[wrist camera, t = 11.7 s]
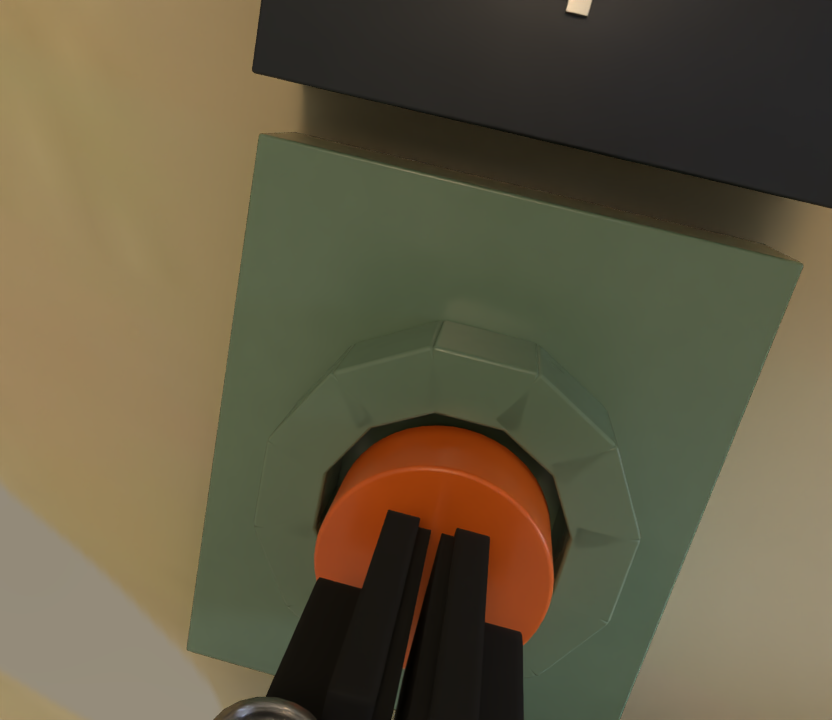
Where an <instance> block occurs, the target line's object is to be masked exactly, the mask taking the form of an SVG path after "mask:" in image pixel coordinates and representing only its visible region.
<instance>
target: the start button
mask: <svg viewBox="0 0 832 720" xmlns="http://www.w3.org/2000/svg"><path fill="white" fill-rule="evenodd" d="M388 510H392V511H396V512H400V513H404V514H408V515H411V516H415V517H419V518H420V523H419V527H421V528H425V529H429V530H431V535H430V539H429V544H428V549H427V554H426V559H425V563H424V568H423V573H422V578H421V582H420V587H419V592H418V597H417V602H416V606H415V611H414V616H413V621H412V625H411V630H410V635H409V640H408V645H407V649H406V654H405V659H404V664H403V669H405V667H406V663H407V659H408V656H409V652H410V648H411V645H412V641H413V637H414V633H415V630H416V626H417V622H418V619H419V615H420V611H421V607H422V604H423V600H424V596H425V592H426V589H427V585H428V581H429V578H430V574H431V570H432V566H433V563H434V559H435V555H436V552H437V548H438V544H439V540H440V537H441V534H442V533H444V534H447V535H451V536H454V534H455V531H456V528H460V529H464V530H468V531H472V532H475V533H479V534H483V535H487V536H489V537H490V548H489V564H488V580H487V596H486V612H485V622H486V623H490V624H494V625H497V626H501V627H505V628H508V629H512V630H516V631H519V632H521V634H522V639H523V645H524V644H525V643H527V642H528V640H529V639H530V638H531V637H532V636H533V634H534V633H535V632H536V631H537V629H538V628H539V626H540V624H541V623H542V621H543V620H544V618H545V615H546V613H547V611H548V608H549V606H550V602H551V598H552V594H553V586H554V569H553V555H552V541H551V528H550V515H549V510H548V506H547V502H546V499H545V496H544V494H543V491H542V489H541V487H540V485H539V483H538V482H537V480H536V478H535V477H534V475H533V474H532V472H531V471H530V470H529V468H528V467H527V466H526V465H525V464H524V463H523V462H522V461H521V460H520V459H519V458H518V457H517V456H516V455H515V454H514V453H512V452H511V451H510V450H509V449H507V448H506V447H504V446H503V445H501V444H500V443H498V442H496V441H495V440H493V439H491V438H489V437H486V436H484V435H482V434H480V433H477V432H474V431H471V430H468V429H463V428H458V427H453V426H440V425H434V426H420V427H415V428H409V429H406V430H402V431H399V432H396V433H394V434H391V435H389V436H387V437H385V438H383V439H381V440H380V441H378V442H376V443H375V444H373V445H372V446H371V447H369V448H368V449H367V450H366V451H365V452H363V453H362V454H361V455H360V456H359V458H358V459H357V460H356V461H355V462H354V463H353V465H352V466H351V468H350V469H349V471H348V472H347V474H346V476H345V478H344V480H343V482H342V484H341V486H340V488H339V490H338V492H337V494H336V496H335V498H334V500H333V502H332V504H331V506H330V508H329V510H328V512H327V514H326V516H325V518H324V520H323V523H322V525H321V527H320V529H319V532H318V536H317V539H316V544H315V552H314V570H315V576H316V581H317V579H318V578H319V577H321V578H325V579H328V580H332V581H336V582H339V583H343V584H347V585H350V586H354V587H358V588H362V586H363V583H364V580H365V577H366V574H367V571H368V568H369V565H370V562H371V559H372V556H373V553H374V550H375V547H376V544H377V541H378V538H379V535H380V532H381V529H382V526H383V523H384V520H385V517H386V514H387V512H388Z"/></svg>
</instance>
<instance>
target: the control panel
mask: <svg viewBox="0 0 832 720" xmlns="http://www.w3.org/2000/svg"><path fill="white" fill-rule="evenodd" d="M252 71H253V72H254V73H256V74H260V75H265V76H269V77H273V78H277V79H282V80H286V81H290V82H294V83H299V84H303V85H307V86H311V87H316V88H320V89H324V90H328V91H333V92H337V93H341V94H346V95H350V96H354V97H358V98H363V99H367V100H371V101H375V102H380V103H384V104H388V105H392V106H397V107H401V108H405V109H409V110H414V111H418V112H422V113H426V114H431V115H435V116H439V117H444V118H448V119H452V120H456V121H461V122H465V123H469V124H473V125H478V126H482V127H486V128H490V129H495V130H499V131H503V132H507V133H512V134H516V135H520V136H524V137H529V138H533V139H537V140H542V141H546V142H550V143H554V144H559V145H563V146H567V147H571V148H576V149H580V150H584V151H588V152H593V153H597V154H601V155H605V156H610V157H614V158H618V159H623V160H627V161H631V162H635V163H640V164H644V165H648V166H652V167H657V168H661V169H665V170H669V171H674V172H678V173H682V174H686V175H691V176H695V177H699V178H703V179H708V180H712V181H716V182H721V183H725V184H729V185H733V186H738V187H742V188H746V189H750V190H755V191H759V192H763V193H767V194H772V195H776V196H780V197H784V198H789V199H793V200H797V201H802V202H806V203H810V204H814V205H819V206H823V207H827V208H831V209H832V0H261V7H260V14H259V22H258V29H257V37H256V44H255V52H254V59H253V67H252Z"/></svg>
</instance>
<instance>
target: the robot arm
mask: <svg viewBox="0 0 832 720" xmlns="http://www.w3.org/2000/svg"><path fill="white" fill-rule="evenodd" d="M419 523H420V518H419V517H415V516H411V515H408V514H404V513H400V512H396V511H392V510H388V512H387V514H386V517H385V520H384V523H383V526H382V529H381V532H380V535H379V538H378V541H377V544H376V547H375V550H374V553H373V556H372V559H371V562H370V565H369V568H368V571H367V574H366V577H365V580H364V583H363V586H362V588H358V587H354V586H350V585H347V584H343V583H339V582H336V581H332V580H328V579H325V578H321V577H319V578H318V579H317V581H316V583H315V585H314V588H313V590H312V592H311V595H310V597H309V599H308V601H307V604H306V606H305V608H304V611H303V613H302V615H301V617H300V620H299V622H298V624H297V626H296V629H295V631H294V633H293V636H292V638H291V640H290V642H289V645H288V647H287V649H286V652H285V654H284V656H283V658H282V661H281V663H280V665H279V667H278V670H277V672H276V674H275V677H274V679H273V681H272V683H271V686H270V688H269V690H268V693H267V695H266V697H255V698H251V699H246V700H242V701H239V702H237V703H235V704H233V705H231V706H229V707H227V708H226V709H224V710H223V711H222V712H221V713H220V714H219V715H218V716H217V717H216V718H215V719H214V720H391V718H392V714H393V710H394V705H395V701H396V697H397V692H398V688H399V683H400V678H401V673H402V668H403V664H404V659H405V654H406V649H407V645H408V640H409V635H410V630H411V625H412V621H413V616H414V611H415V606H416V602H417V597H418V592H419V587H420V582H421V578H422V573H423V568H424V563H425V559H426V554H427V549H428V544H429V539H430V535H431V530H429V529H425V528H421V527H419ZM489 548H490V537H489V536H487V535H483V534H479V533H475V532H472V531H468V530H464V529H460V528H456V531H455V534H454V536H451V535H447V534H444V533H442V534H441V537H440V540H439V544H438V548H437V552H436V555H435V559H434V563H433V566H432V570H431V574H430V578H429V581H428V585H427V589H426V592H425V596H424V600H423V604H422V607H421V611H420V615H419V619H418V622H417V626H416V630H415V633H414V637H413V641H412V645H411V648H410V652H409V656H408V659H407V663H406V667H405V671H404V675H403V679H402V684H401V688H400V693H399V698H398V703H397V707H396V712H395V717H394V720H524V694H523V639H522V634H521V632H519V631H516V630H512V629H508V628H505V627H501V626H497V625H494V624H490V623H486V622H485V612H486V596H487V580H488V564H489Z"/></svg>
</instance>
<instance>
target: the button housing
mask: <svg viewBox="0 0 832 720" xmlns="http://www.w3.org/2000/svg"><path fill="white" fill-rule="evenodd" d="M802 269H803V264H802V263H801V262H799V261H797V260H795V259H793V258H791V257H789V256H787V255H785V254H783V253H781V252H779V251H777V250H775V249H773V248H771V247H769V246H767V245H765V244H762V243H758V242H753V241H749V240H745V239H741V238H737V237H733V236H728V235H724V234H720V233H716V232H712V231H707V230H703V229H699V228H695V227H691V226H686V225H682V224H678V223H674V222H670V221H666V220H661V219H657V218H653V217H649V216H645V215H640V214H636V213H632V212H628V211H624V210H619V209H615V208H611V207H607V206H603V205H599V204H594V203H590V202H586V201H582V200H578V199H573V198H569V197H565V196H561V195H557V194H552V193H548V192H544V191H540V190H536V189H532V188H527V187H523V186H519V185H515V184H511V183H506V182H502V181H498V180H494V179H490V178H485V177H481V176H477V175H473V174H469V173H465V172H460V171H456V170H452V169H448V168H444V167H439V166H435V165H431V164H427V163H423V162H418V161H414V160H410V159H406V158H402V157H398V156H393V155H389V154H385V153H381V152H377V151H372V150H368V149H364V148H360V147H356V146H351V145H347V144H343V143H339V142H335V141H331V140H326V139H322V138H318V137H314V136H310V135H305V134H301V133H297V132H287V133H262V134H260V135H259V139H258V146H257V153H256V160H255V167H254V174H253V181H252V188H251V195H250V202H249V209H248V217H247V224H246V231H245V238H244V245H243V252H242V259H241V266H240V273H239V280H238V288H237V295H236V302H235V309H234V316H233V323H232V330H231V337H230V344H229V351H228V359H227V366H226V373H225V380H224V387H223V394H222V401H221V408H220V415H219V422H218V430H217V437H216V444H215V451H214V458H213V465H212V472H211V479H210V486H209V493H208V500H207V508H206V515H205V522H204V529H203V536H202V543H201V550H200V557H199V564H198V571H197V579H196V586H195V593H194V600H193V607H192V614H191V621H190V628H189V635H188V642H187V650H188V651H190V652H194V653H197V654H201V655H204V656H208V657H211V658H215V659H219V660H222V661H226V662H229V663H233V664H236V665H240V666H243V667H247V668H250V669H254V670H257V671H261V672H264V673H268V674H271V675H275V674H276V672H277V670H278V667H279V665H280V663H281V661H282V658H283V656H284V654H285V652H286V649H287V647H288V645H289V642H290V640H291V638H292V636H293V633H294V631H295V629H296V626H297V624H298V622H299V620H300V617H301V615H302V613H303V611H304V608H305V606H306V604H307V601H308V599H309V597H310V595H311V592H312V590H313V588H314V585H315V583H316V576H315V570H314V552H315V544H316V539H317V536H318V532H319V529H320V527H321V525H322V523H323V520H324V518H325V516H326V514H327V512H328V510H329V508H330V506H331V504H332V502H333V500H334V498H335V496H336V494H337V492H338V490H339V488H340V486H341V484H342V482H343V480H344V478H345V476H346V474H347V472H348V471H349V469H350V468H351V466H352V465H353V463H354V462H355V461H356V460H357V459H358V458H359V456H360V455H361V454H362V453H363V452H365V451H366V450H367V449H368V448H369V447H371V446H372V445H373V444H375V443H376V442H378V441H380V440H381V439H383V438H385V437H387V436H389V435H391V434H394V433H396V432H399V431H402V430H406V429H409V428H415V427H420V426H434V425H440V426H453V427H458V428H463V429H468V430H471V431H474V432H477V433H480V434H482V435H484V436H486V437H489V438H491V439H493V440H495V441H496V442H498V443H500V444H501V445H503V446H504V447H506V448H507V449H509V450H510V451H511V452H512V453H514V454H515V455H516V456H517V457H518V458H519V459H520V460H521V461H522V462H523V463H524V464H525V465H526V466H527V467H528V468H529V470H530V471H531V472H532V474H533V475H534V477H535V478H536V480H537V482H538V483H539V485H540V487H541V489H542V491H543V494H544V496H545V499H546V502H547V506H548V510H549V515H550V528H551V541H552V555H553V569H554V586H553V594H552V598H551V602H550V606H549V608H548V611H547V613H546V615H545V618H544V620H543V621H542V623H541V624H540V626H539V628H538V629H537V631H536V632H535V633H534V634H533V636H532V637H531V638H530V639H529V640H528V642H527V643H525V644H524V645H523V694H524V720H620V718H621V715H622V713H623V710H624V708H625V705H626V703H627V700H628V698H629V695H630V693H631V690H632V688H633V686H634V683H635V681H636V678H637V676H638V673H639V671H640V668H641V666H642V663H643V661H644V658H645V656H646V653H647V651H648V649H649V646H650V644H651V641H652V639H653V636H654V634H655V631H656V629H657V626H658V624H659V621H660V619H661V616H662V614H663V612H664V609H665V607H666V604H667V602H668V599H669V597H670V594H671V592H672V589H673V587H674V584H675V582H676V579H677V577H678V575H679V572H680V570H681V567H682V565H683V562H684V560H685V557H686V555H687V552H688V550H689V547H690V545H691V542H692V540H693V538H694V535H695V533H696V530H697V528H698V525H699V523H700V520H701V518H702V515H703V513H704V510H705V508H706V505H707V503H708V501H709V498H710V496H711V493H712V491H713V488H714V486H715V483H716V481H717V478H718V476H719V473H720V471H721V468H722V466H723V464H724V461H725V459H726V456H727V454H728V451H729V449H730V446H731V444H732V441H733V439H734V436H735V434H736V431H737V429H738V427H739V424H740V422H741V419H742V417H743V414H744V412H745V409H746V407H747V404H748V402H749V399H750V397H751V394H752V392H753V390H754V387H755V385H756V382H757V380H758V377H759V375H760V372H761V370H762V367H763V365H764V362H765V360H766V357H767V355H768V353H769V350H770V348H771V345H772V343H773V340H774V338H775V335H776V333H777V330H778V328H779V325H780V323H781V320H782V318H783V315H784V313H785V311H786V308H787V306H788V303H789V301H790V298H791V296H792V293H793V291H794V288H795V286H796V283H797V281H798V278H799V276H800V274H801V271H802ZM404 671H405V669H403V668H402V673H401V678H400V683H399V688H398V692H397V697H396V701H395V705H394V710H396V707H397V703H398V698H399V693H400V688H401V684H402V679H403V675H404Z"/></svg>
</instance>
